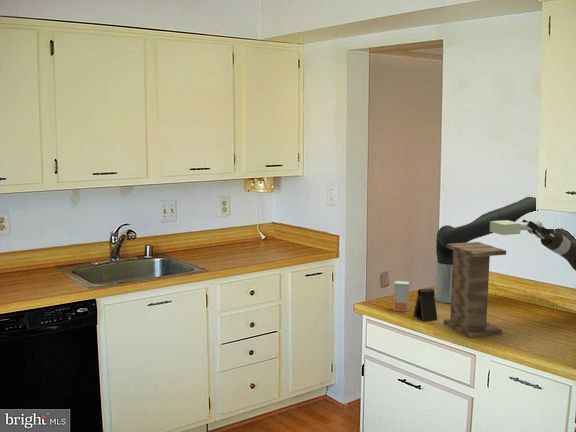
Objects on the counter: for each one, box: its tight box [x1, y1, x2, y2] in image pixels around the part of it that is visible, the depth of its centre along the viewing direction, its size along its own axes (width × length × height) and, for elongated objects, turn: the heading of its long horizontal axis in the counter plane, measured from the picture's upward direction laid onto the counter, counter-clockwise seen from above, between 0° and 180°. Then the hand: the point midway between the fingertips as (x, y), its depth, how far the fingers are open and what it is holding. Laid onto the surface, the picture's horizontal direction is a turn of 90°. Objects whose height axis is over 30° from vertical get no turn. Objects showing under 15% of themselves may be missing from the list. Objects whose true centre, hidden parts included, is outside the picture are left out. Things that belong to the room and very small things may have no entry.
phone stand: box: [413, 288, 438, 322], centre depth 277 cm, size 9×6×12 cm, turn 17°
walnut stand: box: [443, 241, 507, 338], centre depth 262 cm, size 18×14×32 cm
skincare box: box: [392, 280, 410, 313], centre depth 288 cm, size 6×4×12 cm
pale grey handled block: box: [490, 220, 543, 236], centre depth 264 cm, size 8×20×4 cm, turn 109°
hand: (525, 222), depth 265 cm, fingers closed on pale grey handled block, 3 cm apart
